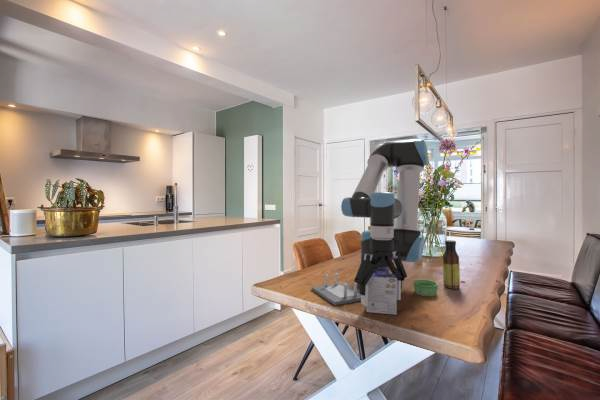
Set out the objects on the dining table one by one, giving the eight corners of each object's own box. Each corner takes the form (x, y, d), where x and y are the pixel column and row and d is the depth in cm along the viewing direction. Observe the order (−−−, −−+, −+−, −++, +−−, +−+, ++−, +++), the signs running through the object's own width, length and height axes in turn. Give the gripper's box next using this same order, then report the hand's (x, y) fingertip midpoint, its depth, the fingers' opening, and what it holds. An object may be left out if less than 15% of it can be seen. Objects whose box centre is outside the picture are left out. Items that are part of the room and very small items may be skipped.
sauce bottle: (459, 286, 122) (459, 240, 122) (460, 290, 117) (461, 242, 116) (442, 284, 125) (442, 239, 125) (442, 288, 119) (443, 241, 119)
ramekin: (425, 288, 119) (425, 278, 119) (443, 295, 111) (443, 284, 111) (408, 291, 116) (408, 280, 116) (425, 298, 107) (425, 287, 107)
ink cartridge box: (395, 308, 97) (396, 266, 97) (397, 315, 92) (398, 270, 92) (365, 306, 99) (366, 265, 99) (366, 312, 94) (366, 269, 94)
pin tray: (345, 285, 123) (345, 270, 123) (371, 299, 106) (371, 282, 106) (311, 289, 116) (311, 274, 116) (334, 305, 100) (334, 287, 100)
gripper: (357, 242, 87) (356, 311, 87) (418, 237, 97) (417, 300, 97) (344, 238, 93) (343, 303, 94) (402, 235, 104) (401, 293, 104)
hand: (381, 301), depth 95 cm, fingers open, 13 cm apart
